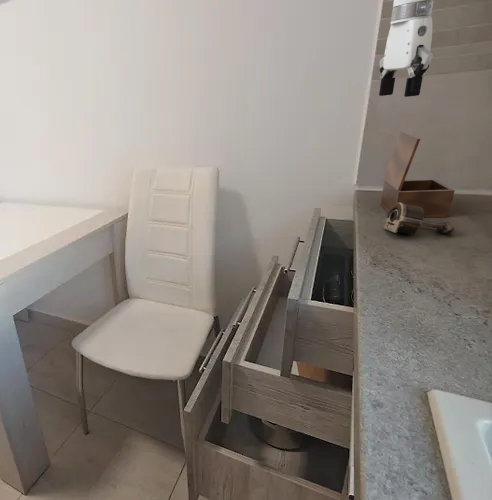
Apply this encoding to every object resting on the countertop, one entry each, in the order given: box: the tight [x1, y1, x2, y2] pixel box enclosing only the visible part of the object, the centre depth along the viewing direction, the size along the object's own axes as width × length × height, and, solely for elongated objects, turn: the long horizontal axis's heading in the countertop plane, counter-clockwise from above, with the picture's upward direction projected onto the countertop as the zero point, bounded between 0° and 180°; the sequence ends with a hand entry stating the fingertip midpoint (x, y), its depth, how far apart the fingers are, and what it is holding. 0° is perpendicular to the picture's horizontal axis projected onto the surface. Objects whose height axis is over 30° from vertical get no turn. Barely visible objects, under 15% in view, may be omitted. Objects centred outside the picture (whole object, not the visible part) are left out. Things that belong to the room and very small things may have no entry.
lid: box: [383, 132, 421, 191], centre depth 90 cm, size 12×10×1 cm
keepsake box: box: [379, 178, 455, 219], centre depth 93 cm, size 11×10×7 cm
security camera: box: [383, 202, 456, 235], centre depth 81 cm, size 7×13×10 cm
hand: (398, 95), depth 90 cm, fingers open, 9 cm apart
